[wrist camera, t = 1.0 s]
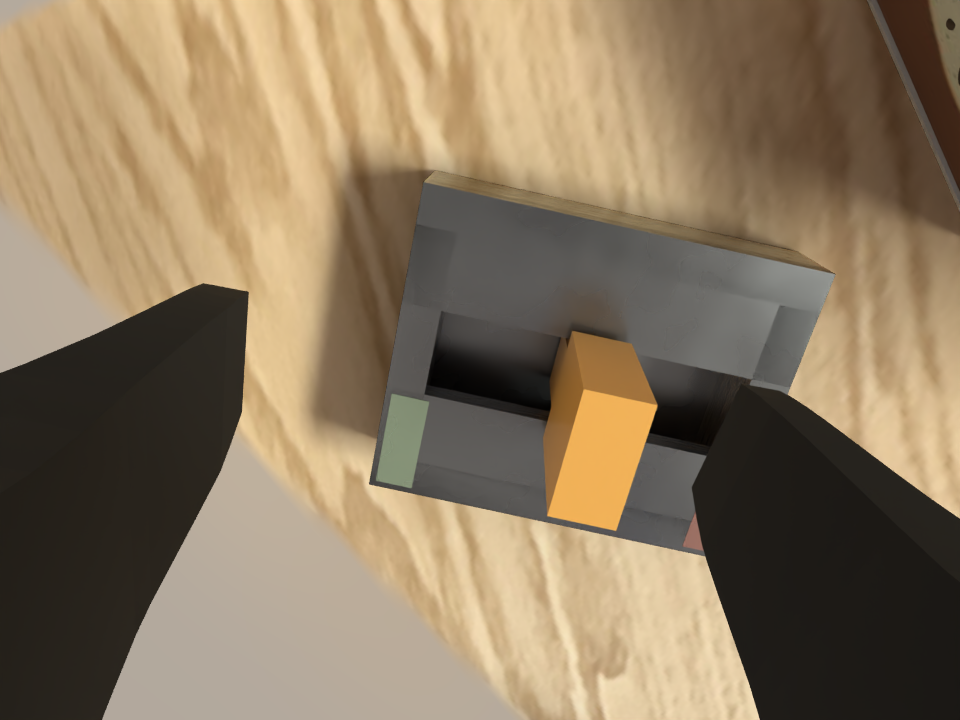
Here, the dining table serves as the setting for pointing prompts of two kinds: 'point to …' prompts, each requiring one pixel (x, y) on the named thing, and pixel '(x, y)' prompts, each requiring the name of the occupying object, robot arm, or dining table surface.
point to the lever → (594, 429)
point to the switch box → (556, 313)
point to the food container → (928, 71)
